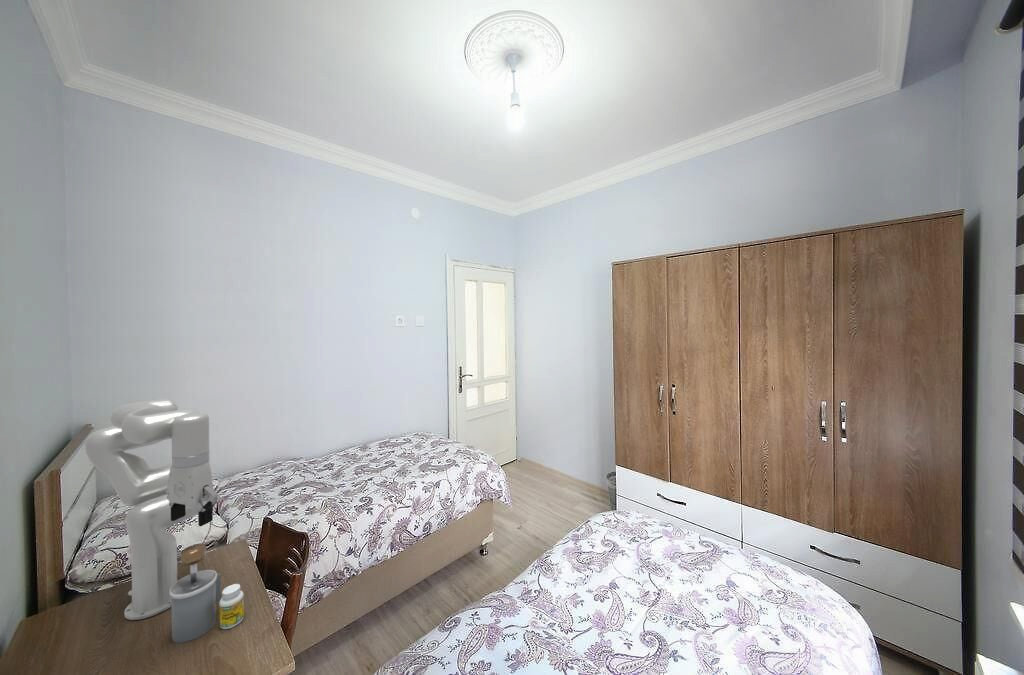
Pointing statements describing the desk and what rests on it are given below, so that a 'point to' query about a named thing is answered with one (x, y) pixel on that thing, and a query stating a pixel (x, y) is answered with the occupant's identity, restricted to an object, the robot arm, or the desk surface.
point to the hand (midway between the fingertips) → (191, 520)
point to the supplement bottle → (231, 606)
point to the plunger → (193, 558)
